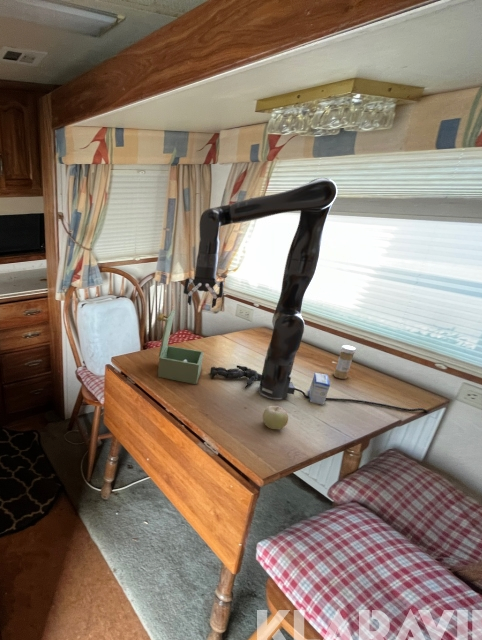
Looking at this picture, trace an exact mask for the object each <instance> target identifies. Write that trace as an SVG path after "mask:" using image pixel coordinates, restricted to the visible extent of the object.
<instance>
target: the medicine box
mask: <svg viewBox="0 0 482 640" xmlns="http://www.w3.org/2000/svg"><path fill="white" fill-rule="evenodd" d="M330 386H331V384H330V380H329V375H328V374H325V373H324V374H323V373H319V372H314V374H313V377H312V380H311V382H310V386H309V389H308V396H309V397H310V399H309V402H310V403H313V404H317V405H325V402H326V400H325V399H326V398H327V395H328V393H329V390H330Z"/></svg>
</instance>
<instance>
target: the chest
mask: <svg viewBox="0 0 482 640" xmlns="http://www.w3.org/2000/svg"><path fill="white" fill-rule="evenodd" d="M203 358H204V351H203V350H198V349H191V348H184V347H179V346H173V345H167V347H166V348H165V350H164V352H163V353H162V355H161V357H159V359H158V360H159V361H158V369H157V377H158V378H163V379H167V380H172V381H178V382H181V383H187V384H191V385H197V384H198V380H199V377H200V374H201V372H202V366H203V365H202V364H203ZM183 360H187V362H184V361H183Z"/></svg>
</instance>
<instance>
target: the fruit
mask: <svg viewBox="0 0 482 640" xmlns="http://www.w3.org/2000/svg"><path fill="white" fill-rule="evenodd" d="M262 421H263V423H264V425H265V426H266V427H267V428H269V429H271V430H281V429H284V428H285V427H286V426H287V424H288V422H289V414H288V412H287V411H286V409H284V408H282V407H281V406H278V405H270V406H267V407H266V408H265V409H263V412H262Z"/></svg>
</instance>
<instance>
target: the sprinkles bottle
mask: <svg viewBox="0 0 482 640" xmlns="http://www.w3.org/2000/svg"><path fill="white" fill-rule="evenodd" d="M355 354H356V347H354V346H351V345H347V344H346V345H342V346H341V348H340V354H339V357H338V360H337V363H336V365H335V369H334V373H333V376H334V377H335V378H337V379H341V380H345V379H347V378H348V374H349V371H350V368H351V364H352V361H353V358H354V355H355Z"/></svg>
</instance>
